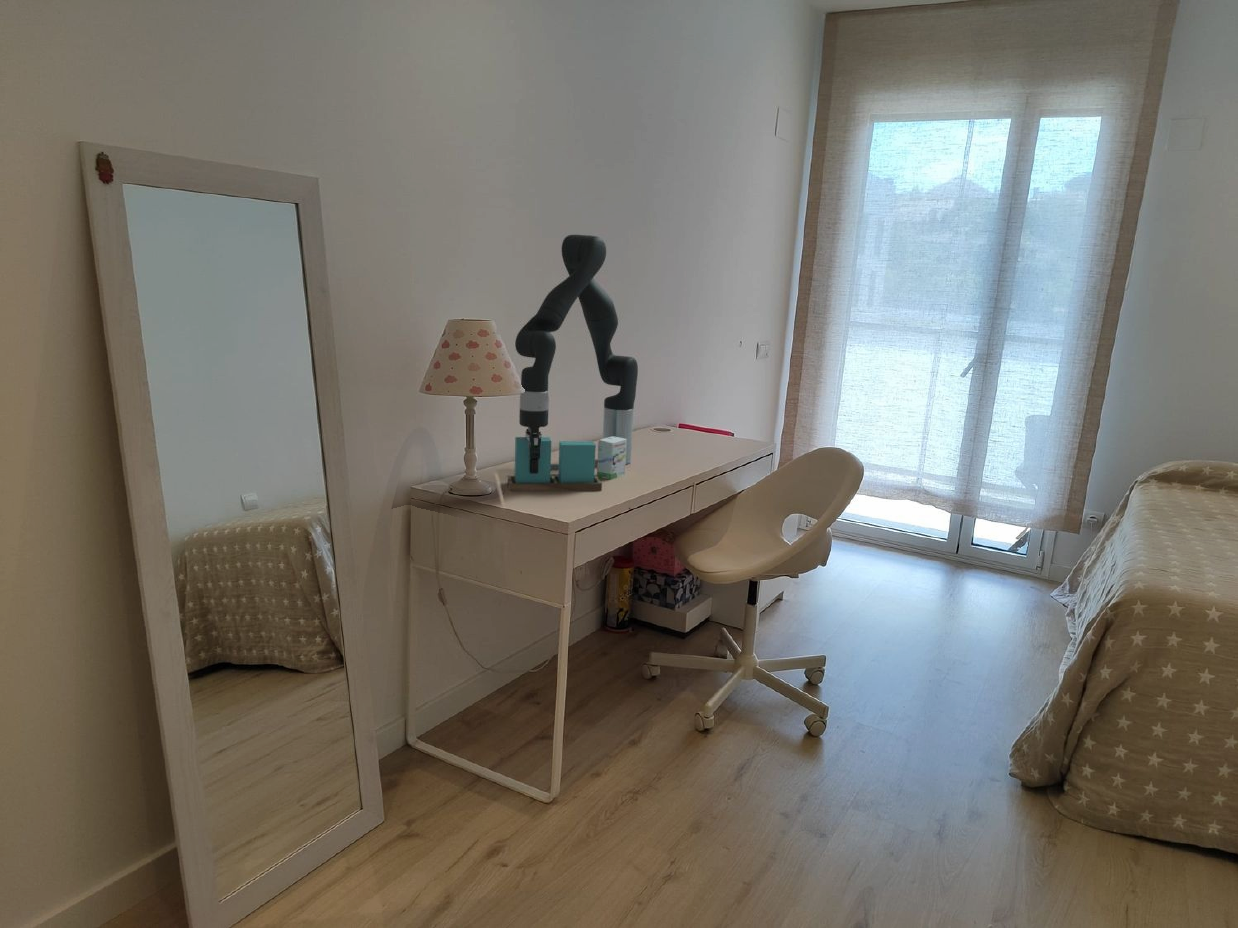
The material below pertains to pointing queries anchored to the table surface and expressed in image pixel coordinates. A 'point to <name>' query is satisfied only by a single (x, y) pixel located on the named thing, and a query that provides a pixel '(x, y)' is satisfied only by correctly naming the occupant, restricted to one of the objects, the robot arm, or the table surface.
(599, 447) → the ink box
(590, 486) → the brown shallow tray
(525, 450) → the block
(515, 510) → the table surface
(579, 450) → the block
